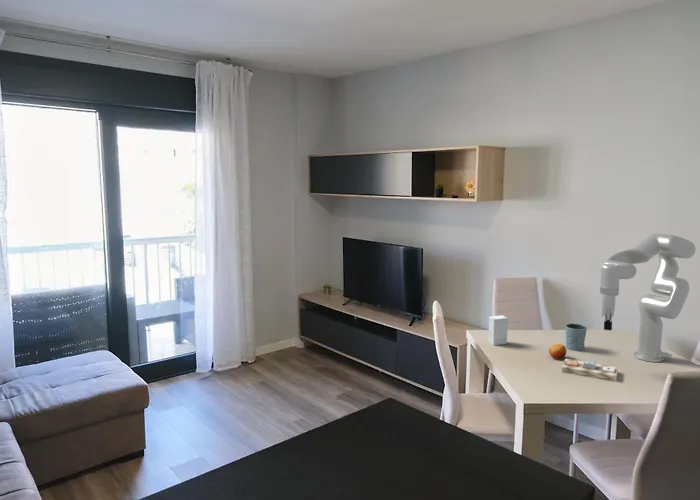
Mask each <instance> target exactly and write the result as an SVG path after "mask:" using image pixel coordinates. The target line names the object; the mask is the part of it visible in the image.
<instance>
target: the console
mask: <svg viewBox="0 0 700 500" xmlns="http://www.w3.org/2000/svg"><path fill="white" fill-rule="evenodd" d="M567 360H569V361H575V362H578V367H574V366H568V365H566V362H567ZM584 362H585V361H582V360H581V361H580V360H576V359H570V358H569V359H568V358H564V361H563V364H562V367H561V372H562V373H567V374H570V375H571V374H572V375H577V376H583V377H588V378H594V379H600V380H606V381H611V382H617V379H618V367H617V366H613V365H605V364H600V363H596V368H595V370H592V369H586V368H584ZM603 366H605V367H611V368H614V373H609V372H604V371H602V369H603Z"/></svg>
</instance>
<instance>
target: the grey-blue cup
mask: <svg viewBox="0 0 700 500" xmlns="http://www.w3.org/2000/svg"><path fill="white" fill-rule="evenodd" d="M587 329H588V327H587V326H586V325H584V324H581V323H574V322H573V323H567V324H565V348H566V350H570V351H575V352H582V351H584V349H585V340H586V336H587Z"/></svg>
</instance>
